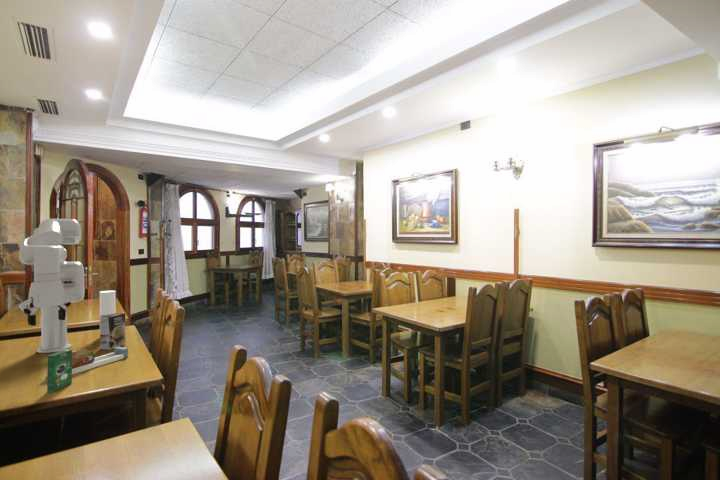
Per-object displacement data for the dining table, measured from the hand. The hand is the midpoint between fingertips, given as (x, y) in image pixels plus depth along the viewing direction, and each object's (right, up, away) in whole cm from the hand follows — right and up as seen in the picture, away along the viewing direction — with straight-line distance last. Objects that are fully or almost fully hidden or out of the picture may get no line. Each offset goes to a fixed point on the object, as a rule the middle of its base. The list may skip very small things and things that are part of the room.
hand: (47, 322), depth 140 cm
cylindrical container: (-18, -22, +59) cm, 65 cm away
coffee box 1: (+10, -23, -6) cm, 26 cm away
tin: (+2, -23, +9) cm, 24 cm away
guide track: (+5, -22, +14) cm, 27 cm away
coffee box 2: (-3, -22, +42) cm, 47 cm away
